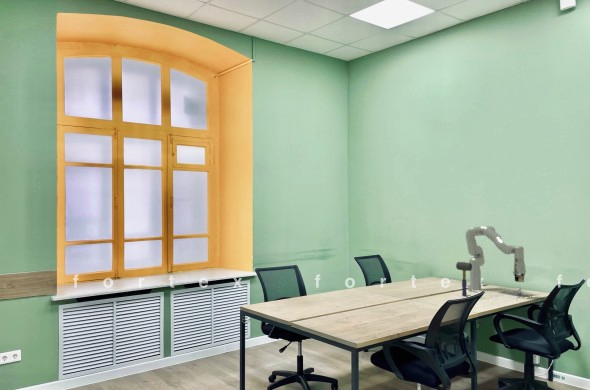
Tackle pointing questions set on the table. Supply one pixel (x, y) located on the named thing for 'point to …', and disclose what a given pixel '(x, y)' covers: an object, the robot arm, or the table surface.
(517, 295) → the base plate
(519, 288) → the steel shaft
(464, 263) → the rubber mallet
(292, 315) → the table surface
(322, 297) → the table surface
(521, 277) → the wooden collar
